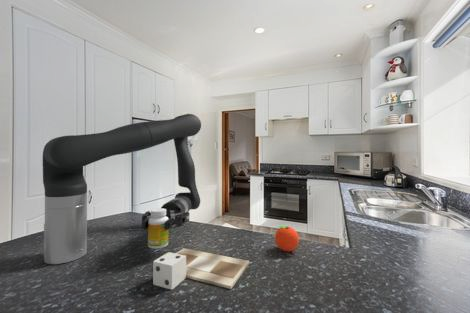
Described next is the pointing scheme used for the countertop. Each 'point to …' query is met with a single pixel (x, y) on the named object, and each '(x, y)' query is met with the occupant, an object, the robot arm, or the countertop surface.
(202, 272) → the board
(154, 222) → the supplement bottle
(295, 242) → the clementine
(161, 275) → the die
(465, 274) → the countertop surface
